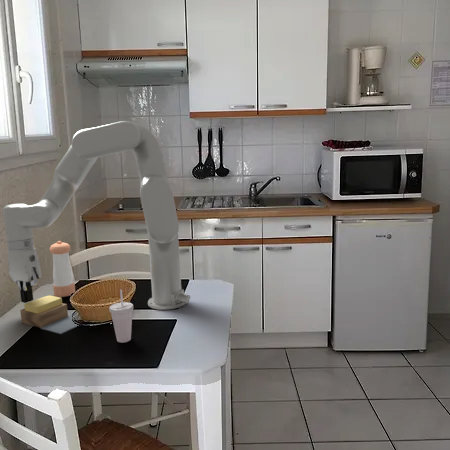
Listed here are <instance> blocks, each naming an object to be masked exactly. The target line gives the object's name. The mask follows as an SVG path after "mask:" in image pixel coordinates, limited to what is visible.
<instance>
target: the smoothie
mask: <svg viewBox="0 0 450 450" xmlns="http://www.w3.org/2000/svg"><path fill="white" fill-rule="evenodd" d="M119 296H120V302H118V303H116V302H115V303H113V304H111V305H109V309H108V310H109V312H110V314H111V315H110V316H111V319H112V322H113V323H112V324H113V328H114V333H115V337H116V341H117V342H118V343H121V344H123V343H128V342H129V341H131V339H132V325H133V323H132V321H133V310H134V304H133V303H131V302H126V301H124V299H123V298H124V297H123V289H119Z"/></svg>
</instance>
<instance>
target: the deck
mask: <svg viewBox="0 0 450 450" xmlns="http://www.w3.org/2000/svg"><path fill="white" fill-rule="evenodd" d="M19 311H20V318H21V319H20V320H21V323H22V324H25V325H29V326H32V327H36V328H40V329H41V327H44V326H46V325H48V324H51V323H53V322H55V321H58V320H60V319H62V318H65V317H67V316H69V312H68V311H69V310H68V304H67V303H63V302H62V304H61V305H59V306H56V307H54V308H51V309H49V310H46V311H43V312H41V313H38V314H37V313H33V312H29V311H25V308H23V309H20V310H19Z"/></svg>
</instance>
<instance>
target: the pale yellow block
mask: <svg viewBox="0 0 450 450" xmlns="http://www.w3.org/2000/svg"><path fill="white" fill-rule="evenodd" d="M62 298H63V297H57V296H54V295H46V296H41V297H40V298H36V299H35V300H34V299H33V300H32V301H30V302H27V303H24V304H23V307H24V309H25V311H29V312H33V313H37V314H38V313H41V312H43V311H46V310H49V309H51V308H54V307H56V306H59V305H61V304H62V303H63V299H62Z"/></svg>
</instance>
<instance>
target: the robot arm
mask: <svg viewBox="0 0 450 450" xmlns="http://www.w3.org/2000/svg"><path fill="white" fill-rule="evenodd" d="M128 151H131V152H132V153H133V156H134V159H135V164H136V168H137V173H138V178H139V184H140V187H139V197H140V203H141V206H142V207H141V208H142V211H143V216H144V221H145V226H146V232H147V234H148V235H147V238H148V251H149V267H150V281H151V283H150V284H151V297H150V298H149V299H148V301H147V305H148V307H149V308H151V309H154V310H161V311H163V310H164V311H166V310H175V309H178V308H181V307H183V306H185V305H186V304H189V303H190V299H191V295H190V294H186V293H185V290H184V289H183V288H182V277H181V263H180V262H181V261H180V243H179V242H180V241H179V230H180V227H179V225H180V224H179V220H178V214H177V210H176V204H175V199H174V193H173V188H172V186H171V182H170V180H169V179H168V178H169V177H168V174H167V170H166V169H167V168H166V164H165V160H164V156H163V151H162V147H161V145H160V143H159V141H158V139H157V137H156V136H155V135H154V133H153V132H152V131H151V130H149V129H148V128H146V127H145V126H143V125H141V124H138V123H136V122H133V121H129V120H121V121H117V122H112V123H110V124H105V125H100V126H96V127H90V128H83V129H80V130H78V131H77V132H76V133H75V134H73V137H72V139H71V145H70V146H69V148H68V149H67V151H66V153H65V154H64V155H63V157H62V159H60V161H59V162H58V164H57V166H56V167H55V169H54V173H53V177H52V180H51V182H50V185H49V186H48V187H47V190H46V191H45V192H44V194H43V196H42V197H41V199H40V200H39V201H38V202H37V203H35V204H31V205H28V204H26V203H12V204H11V203H10V204H7V205H5V206H4V207H3V210H2V214H3V222H4V228H5V229H4V230H5V236H6V245H7V246H6V247H7V267H8V274H9V275H8V276H9V278H11V279H12V282H14V283H15V284H17V288H18V290H19V294H20V301H21V303H24V304H26V303H29V302H31V301H34V294H33V289H34V286H37V285H38V284H39V282H38V279H41V278H42V272H41V271H42V269H41V264H40V260H39V256H38V252H37V250H36V247H35V244H34V235H33V234H34V233H33V229H46V228H48V227H50V226H51V225H52V224H53V223H55V221H57V219H58V218H59V217H60V216H61V213H62V212H63V211H64V209H65V208H66V206H67V205H68V203H69V202H70V201H71V198H72V197H73V195H74V194H75V192H76V191H77V190H78V189H79V188H80V186H81V185H82V183H83V181H84V180H85V178H86V177H87V175H88V173H89V172H90V171H91V169H92V167H93V166H94V165H95V163H96V162H97V161H98V158H101V157H107V156H111V155H114V154H115V155H116V154H120V153H124V152H128Z"/></svg>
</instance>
